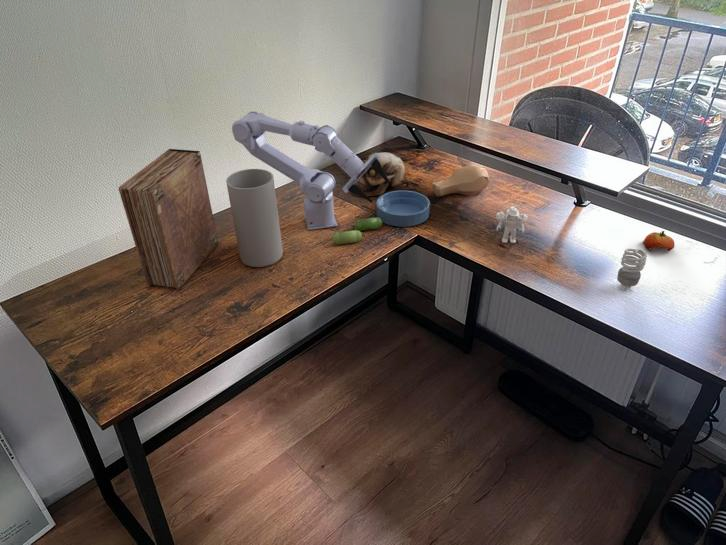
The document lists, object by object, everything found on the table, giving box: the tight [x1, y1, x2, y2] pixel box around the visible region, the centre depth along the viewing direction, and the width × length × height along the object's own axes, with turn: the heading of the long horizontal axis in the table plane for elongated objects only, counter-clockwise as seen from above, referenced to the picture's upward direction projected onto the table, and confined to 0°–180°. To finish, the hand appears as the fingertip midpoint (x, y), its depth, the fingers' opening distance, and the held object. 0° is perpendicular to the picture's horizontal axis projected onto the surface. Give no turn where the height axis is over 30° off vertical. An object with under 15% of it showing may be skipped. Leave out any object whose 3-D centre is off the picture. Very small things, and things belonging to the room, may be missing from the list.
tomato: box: [642, 230, 675, 253], centre depth 161 cm, size 8×7×7 cm
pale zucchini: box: [332, 229, 366, 245], centre depth 168 cm, size 10×4×4 cm, turn 103°
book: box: [118, 148, 219, 291], centre depth 153 cm, size 25×9×30 cm, turn 167°
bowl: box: [375, 190, 431, 228], centre depth 181 cm, size 17×17×4 cm
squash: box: [431, 164, 490, 198], centre depth 192 cm, size 11×20×9 cm, turn 107°
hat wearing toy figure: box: [495, 204, 528, 244], centre depth 164 cm, size 9×4×12 cm, turn 80°
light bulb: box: [616, 248, 648, 290], centre depth 143 cm, size 6×6×12 cm
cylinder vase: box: [225, 168, 284, 268], centre depth 156 cm, size 12×12×25 cm
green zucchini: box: [350, 216, 383, 232], centre depth 174 cm, size 10×4×4 cm, turn 103°
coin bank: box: [352, 152, 406, 198], centre depth 195 cm, size 16×17×13 cm
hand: (380, 192), depth 165 cm, fingers open, 7 cm apart
